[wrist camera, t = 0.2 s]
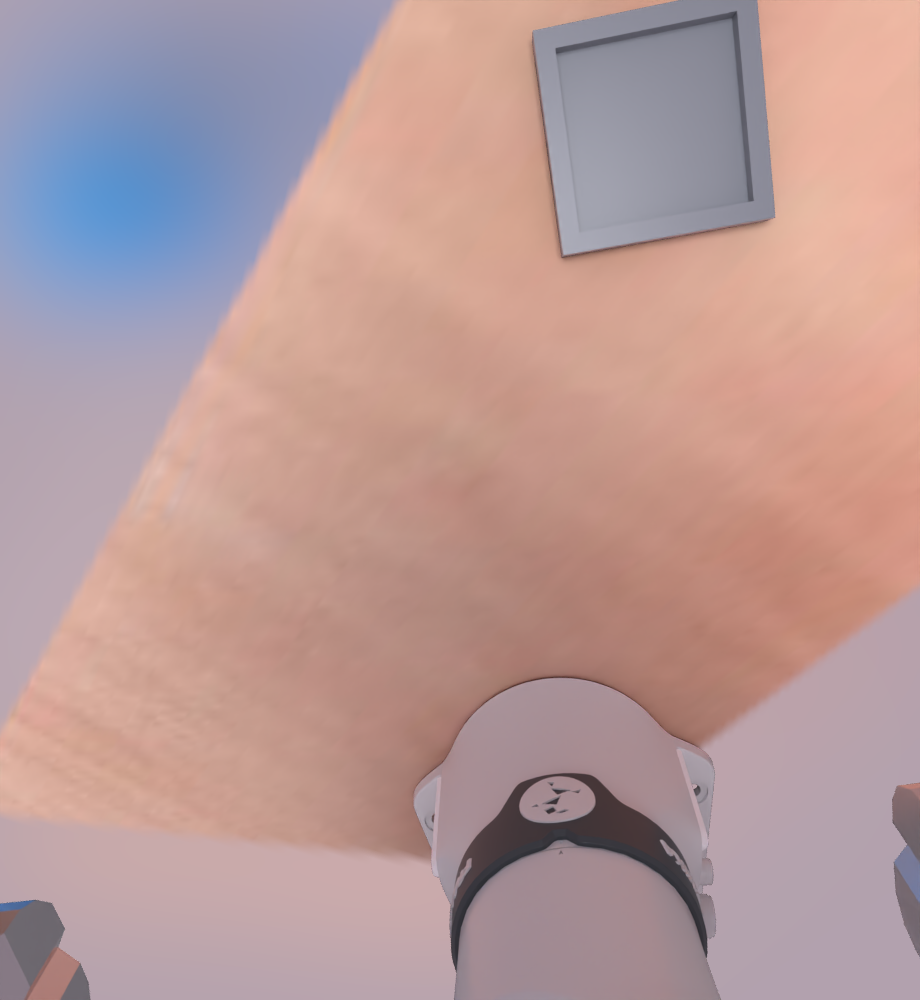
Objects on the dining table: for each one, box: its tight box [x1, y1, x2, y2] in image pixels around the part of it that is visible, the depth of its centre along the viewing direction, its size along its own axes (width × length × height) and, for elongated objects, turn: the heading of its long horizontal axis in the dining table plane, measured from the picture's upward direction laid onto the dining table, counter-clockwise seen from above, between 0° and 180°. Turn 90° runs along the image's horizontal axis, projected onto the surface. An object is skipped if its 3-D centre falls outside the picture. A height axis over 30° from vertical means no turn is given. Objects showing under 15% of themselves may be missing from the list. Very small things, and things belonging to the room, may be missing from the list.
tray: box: [532, 0, 775, 257], centre depth 42 cm, size 11×11×2 cm
